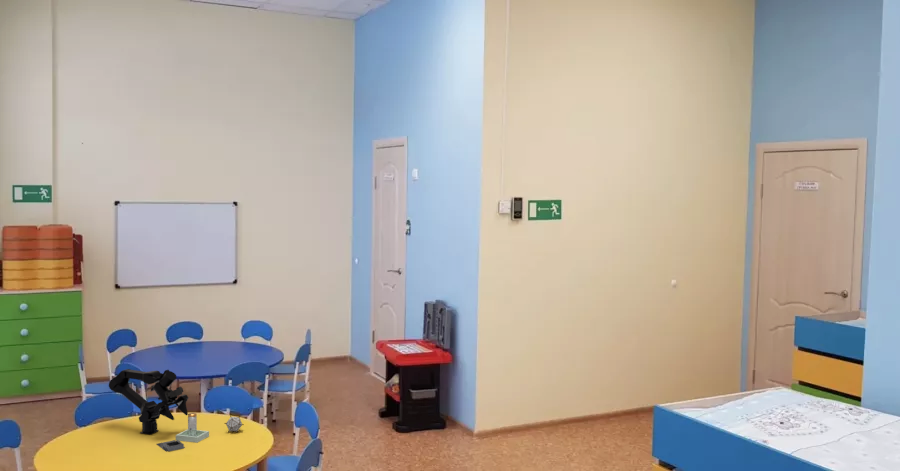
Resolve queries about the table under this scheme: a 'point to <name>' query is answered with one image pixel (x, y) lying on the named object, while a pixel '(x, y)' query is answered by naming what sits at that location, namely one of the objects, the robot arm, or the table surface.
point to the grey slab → (171, 445)
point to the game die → (234, 423)
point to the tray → (184, 436)
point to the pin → (192, 424)
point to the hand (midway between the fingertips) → (180, 417)
